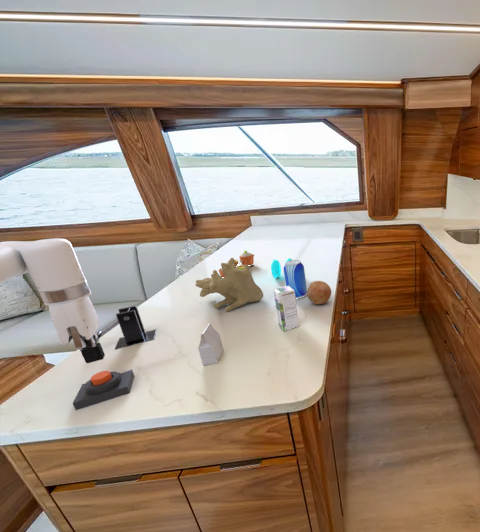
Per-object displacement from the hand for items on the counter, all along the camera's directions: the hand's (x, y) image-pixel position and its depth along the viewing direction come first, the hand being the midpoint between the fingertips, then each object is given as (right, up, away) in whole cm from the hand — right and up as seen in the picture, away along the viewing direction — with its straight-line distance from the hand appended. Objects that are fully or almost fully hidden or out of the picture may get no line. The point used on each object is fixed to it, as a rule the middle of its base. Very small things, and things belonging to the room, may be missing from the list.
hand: (95, 359), depth 74 cm
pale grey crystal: (+19, -5, +16) cm, 26 cm away
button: (0, -6, +2) cm, 6 cm away
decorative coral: (+5, +7, +53) cm, 53 cm away
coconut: (+42, +8, +51) cm, 67 cm away
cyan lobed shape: (+15, +17, +82) cm, 85 cm away
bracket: (-13, -2, +26) cm, 29 cm away
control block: (0, -9, +3) cm, 10 cm away
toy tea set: (-16, +21, +94) cm, 97 cm away
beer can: (+30, +10, +59) cm, 67 cm away
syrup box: (+36, +1, +34) cm, 49 cm away
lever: (-16, +4, +22) cm, 27 cm away
